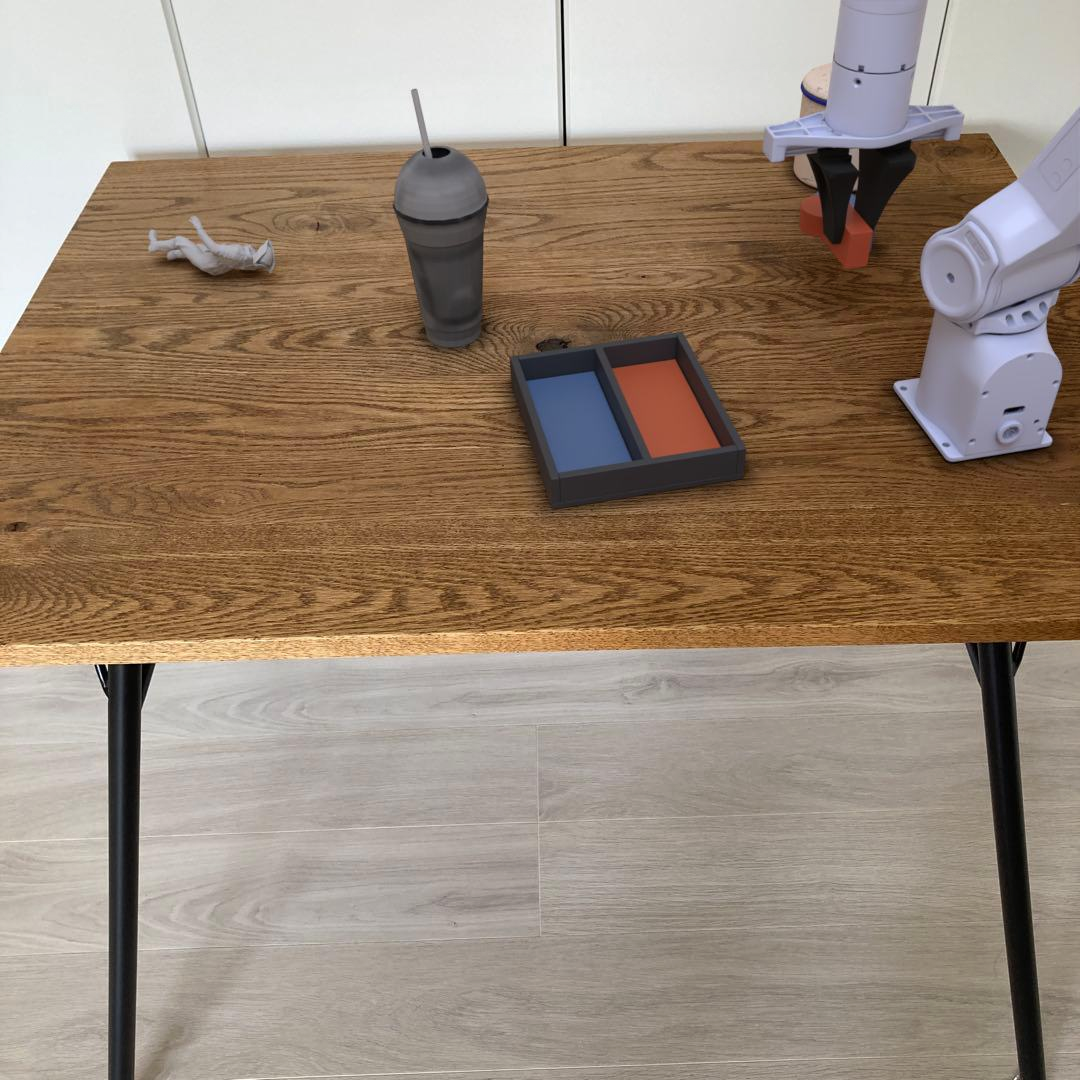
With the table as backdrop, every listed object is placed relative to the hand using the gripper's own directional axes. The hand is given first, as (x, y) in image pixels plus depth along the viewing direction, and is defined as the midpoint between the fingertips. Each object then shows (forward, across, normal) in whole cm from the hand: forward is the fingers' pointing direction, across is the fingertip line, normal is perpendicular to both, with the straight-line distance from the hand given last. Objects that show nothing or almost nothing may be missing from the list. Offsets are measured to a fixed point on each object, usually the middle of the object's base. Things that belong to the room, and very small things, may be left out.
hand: (846, 236), depth 92 cm
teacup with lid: (+8, -10, -26) cm, 29 cm away
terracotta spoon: (+1, 0, -2) cm, 2 cm away
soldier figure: (+8, +50, -20) cm, 54 cm away
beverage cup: (+8, +31, -5) cm, 32 cm away
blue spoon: (+7, -6, -14) cm, 17 cm away
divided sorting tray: (+7, +20, +10) cm, 24 cm away
